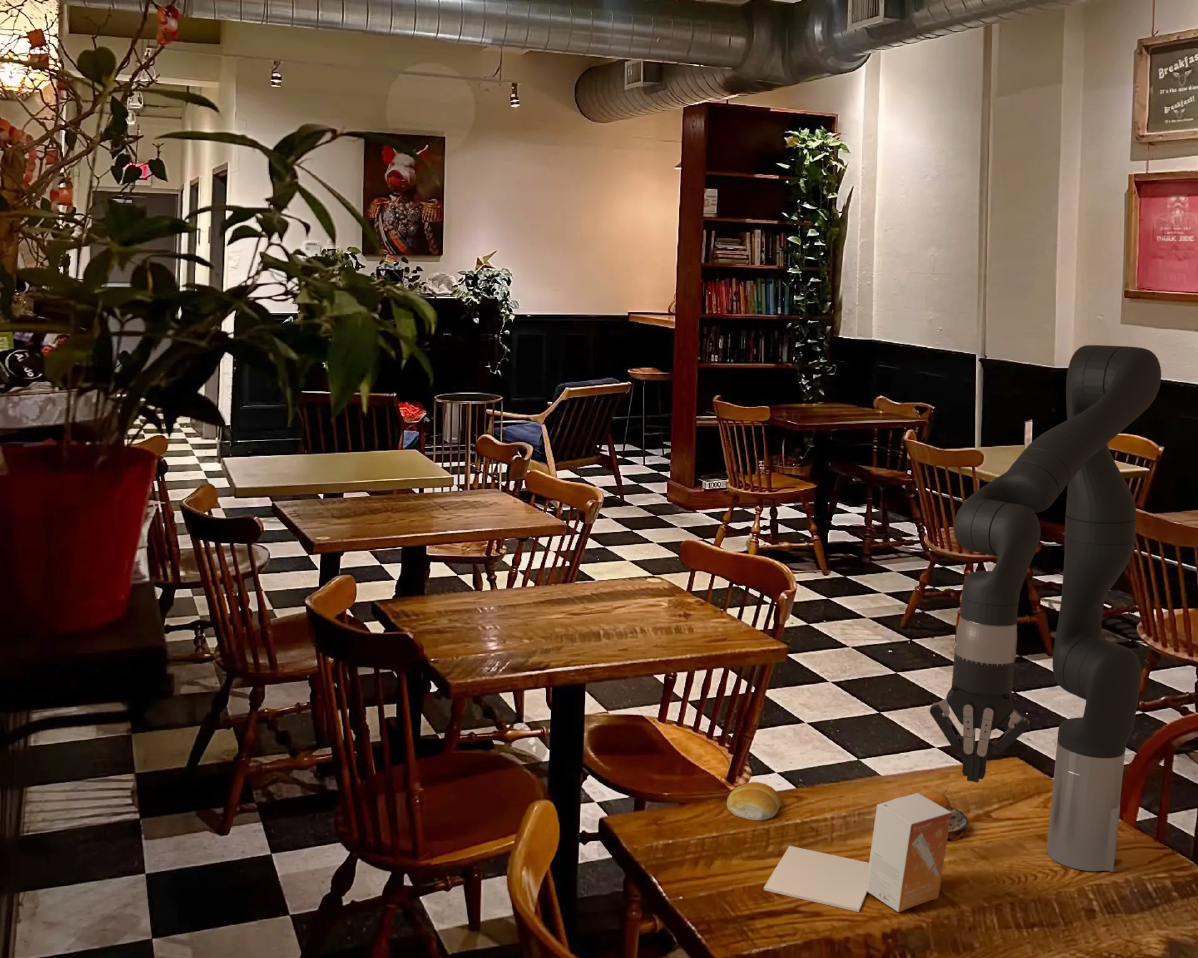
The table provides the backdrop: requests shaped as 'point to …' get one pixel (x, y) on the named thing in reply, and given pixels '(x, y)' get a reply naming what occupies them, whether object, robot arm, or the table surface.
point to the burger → (957, 817)
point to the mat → (820, 878)
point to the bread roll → (754, 801)
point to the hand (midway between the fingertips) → (972, 779)
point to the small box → (907, 851)
